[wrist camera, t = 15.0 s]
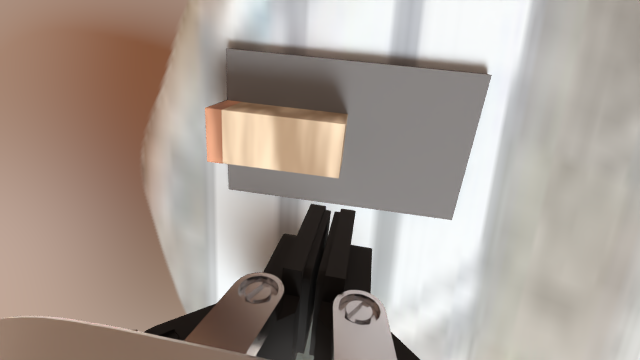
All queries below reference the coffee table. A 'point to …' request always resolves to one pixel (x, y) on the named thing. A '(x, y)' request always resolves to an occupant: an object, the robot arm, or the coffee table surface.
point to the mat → (368, 129)
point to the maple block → (276, 137)
